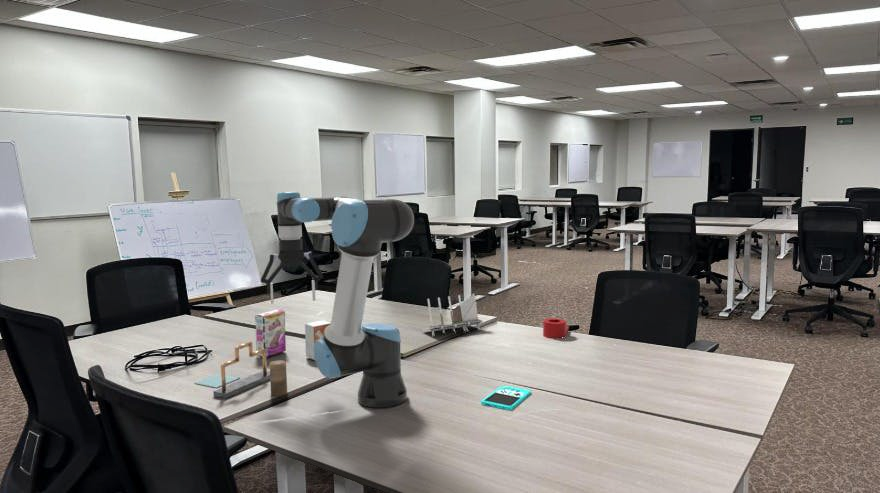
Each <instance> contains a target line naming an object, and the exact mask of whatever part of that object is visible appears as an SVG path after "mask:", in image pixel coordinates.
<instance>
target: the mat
mask: <svg viewBox="0 0 880 493" xmlns="http://www.w3.org/2000/svg"><path fill="white" fill-rule="evenodd" d="M225 378H226V385H227V384H228V385H229V384H231V383H232V382H233V383H234V382H236V381H239V380H240V377H237V376H232V375H227V374H225ZM194 384H195V385H200V386H203V387H209V388H214V389H219V388H220V387H221V388H222V380H221V373H217V374H213V375H211V376H209V377H207V378H206V377H205V378H204V379H201V380H198V381H195V382H194Z"/></svg>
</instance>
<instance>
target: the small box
mask: <svg viewBox="0 0 880 493" xmlns="http://www.w3.org/2000/svg"><path fill="white" fill-rule="evenodd" d="M329 325H331V321H330V322H329V321H326V320H323V319H322V320H317V321H313V322H309V323H305V324H304V336H305V340H304V341H305V357H306V358H308V359H311V360H313V361H315V357H314V343H315V341H317V340H318V339H323V337H324V331H325V329H326V327H327V326H329Z"/></svg>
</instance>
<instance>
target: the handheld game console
mask: <svg viewBox="0 0 880 493" xmlns="http://www.w3.org/2000/svg"><path fill="white" fill-rule="evenodd" d="M531 393H532V391H531V390H529V389H525V388H520V387H515V386H506V385H505V386H504V385H503V386H500V387H498V388H497V389H496V390H494V391H493V392H492V393H490V394H489V395H487V396H486V397H484V399H481V402H480V405H482V404H483V406H486V405H488V406H487V407H491V406H492V408H496V407H497V409H501V410H507V411H512V410H513V409H514V408H515V407H516V406H518V405H519V404H521V402H522V401H523V399H524V400H525V399H526V398H527V397H529V395H530V394H531Z"/></svg>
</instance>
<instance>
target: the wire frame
mask: <svg viewBox="0 0 880 493" xmlns="http://www.w3.org/2000/svg"><path fill="white" fill-rule="evenodd" d="M247 347H248V357H249V358H252V357H257V356H256V355H258V354H261V353H262V357H261V358H262V370H261V371H259V372H257V373H254V374H252V375H250V376H248V377H245V378H242V379H239V380H236V381H234V382H233V383H232V382H231V383H229V384H228V385H227V384H226V378H225V375H226V368H227V367H229V366H231V365H233V364H236V363H237V364H238V363H239V362H240V350H241V349H244V348H245V349H246V348H247ZM253 348H254V347H253V342H252V341H248V342H245V343H242V344H239V345H237V346H235V347H234V359H232V360H229V361H227V362H223V363H221V364H220V374H221V380H222V386H221V388H220V387H219V388H217V389H216V390H213V392H212V393H213V398H215V399H216V398H217V399H222V400H227V399H229V398H230V399H231V398H233V397H234V396H236V395H238V394H241V393H244V392H245V391H248V390H250V389H253V388H255V387H257V386H259V385H261V384H264V383H266V382H270V370H269V371H268V369H267V368H268V367H267V357H266V349H262V350H259V351H256V350H255V351H254V349H253Z"/></svg>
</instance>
